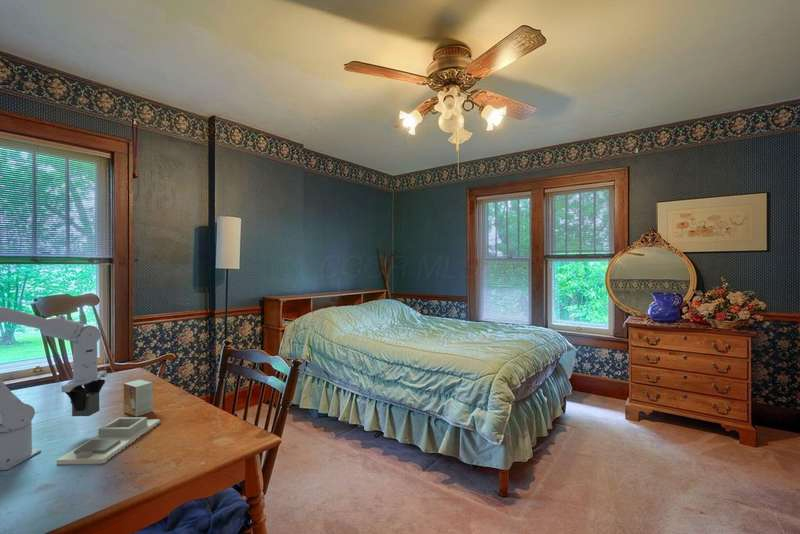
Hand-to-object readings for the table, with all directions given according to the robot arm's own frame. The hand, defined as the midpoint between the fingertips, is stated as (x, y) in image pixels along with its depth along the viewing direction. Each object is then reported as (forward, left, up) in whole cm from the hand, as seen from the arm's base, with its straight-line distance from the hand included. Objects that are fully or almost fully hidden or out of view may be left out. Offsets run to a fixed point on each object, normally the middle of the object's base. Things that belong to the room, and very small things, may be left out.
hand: (85, 407), depth 112 cm
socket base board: (-5, -12, -8) cm, 15 cm away
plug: (0, 0, -2) cm, 2 cm away
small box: (+16, -5, -9) cm, 19 cm away
